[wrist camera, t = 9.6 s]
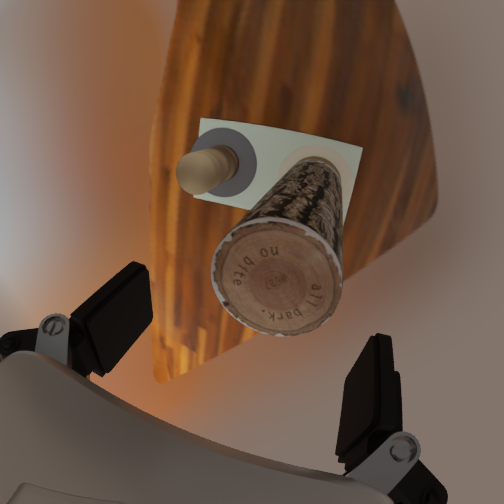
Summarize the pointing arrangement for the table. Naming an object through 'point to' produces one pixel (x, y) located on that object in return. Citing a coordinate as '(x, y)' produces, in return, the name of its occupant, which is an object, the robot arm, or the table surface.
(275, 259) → the brown bark cylinder
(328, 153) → the cream pad
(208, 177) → the beige rounded cylinder
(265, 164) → the board
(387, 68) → the table surface
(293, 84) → the table surface
